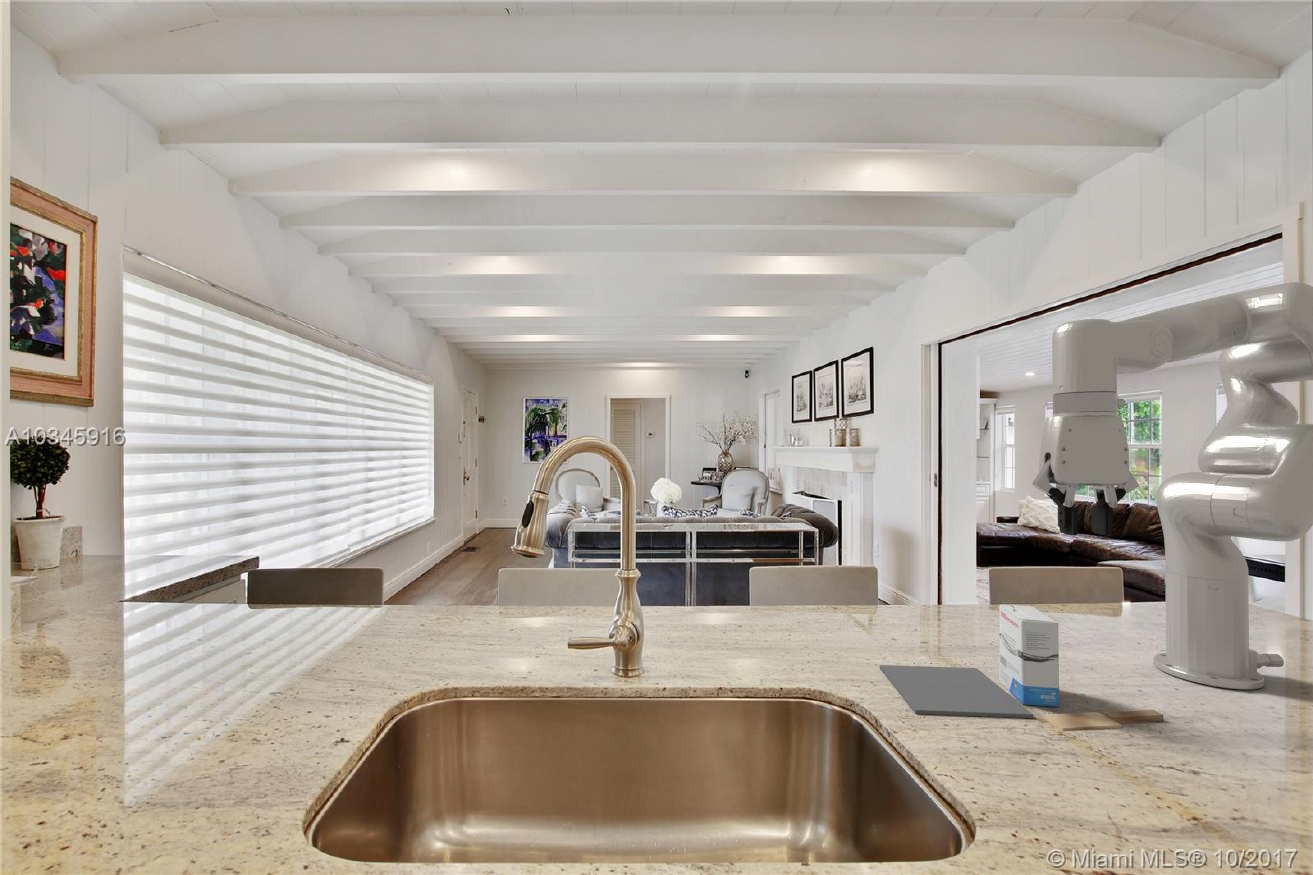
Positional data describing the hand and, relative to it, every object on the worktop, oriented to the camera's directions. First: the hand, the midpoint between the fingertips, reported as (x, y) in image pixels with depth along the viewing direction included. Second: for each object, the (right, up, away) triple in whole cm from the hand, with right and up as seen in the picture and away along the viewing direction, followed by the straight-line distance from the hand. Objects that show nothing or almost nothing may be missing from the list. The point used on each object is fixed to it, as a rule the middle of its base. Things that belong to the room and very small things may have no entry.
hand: (1085, 532), depth 84 cm
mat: (-19, -23, +1) cm, 30 cm away
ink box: (-8, -23, 0) cm, 25 cm away
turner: (-4, -23, -8) cm, 25 cm away
